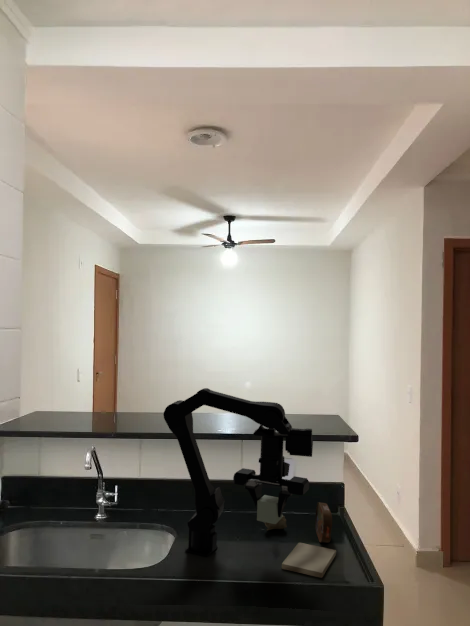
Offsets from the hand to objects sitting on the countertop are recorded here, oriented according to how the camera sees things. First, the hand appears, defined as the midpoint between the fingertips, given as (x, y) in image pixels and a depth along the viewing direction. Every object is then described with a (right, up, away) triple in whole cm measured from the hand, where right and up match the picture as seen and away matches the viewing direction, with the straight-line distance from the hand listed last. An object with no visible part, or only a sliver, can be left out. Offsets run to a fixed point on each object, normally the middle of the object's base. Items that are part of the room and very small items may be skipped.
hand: (269, 514), depth 136 cm
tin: (+16, -12, +15) cm, 25 cm away
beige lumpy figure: (+3, -11, +19) cm, 23 cm away
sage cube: (0, -1, 0) cm, 1 cm away
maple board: (+10, -11, -1) cm, 15 cm away
